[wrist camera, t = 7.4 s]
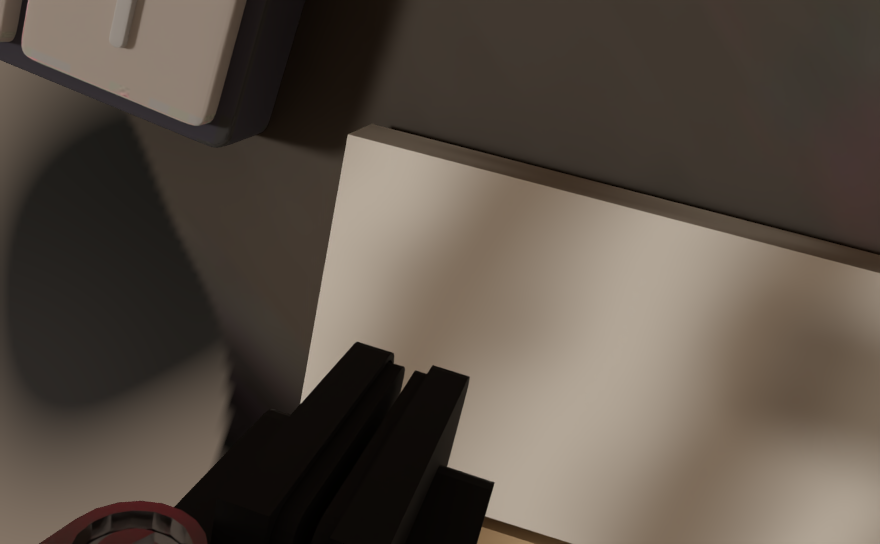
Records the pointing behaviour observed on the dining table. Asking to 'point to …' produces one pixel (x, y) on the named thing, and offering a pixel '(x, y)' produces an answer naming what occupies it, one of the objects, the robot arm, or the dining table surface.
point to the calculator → (161, 57)
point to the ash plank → (614, 347)
